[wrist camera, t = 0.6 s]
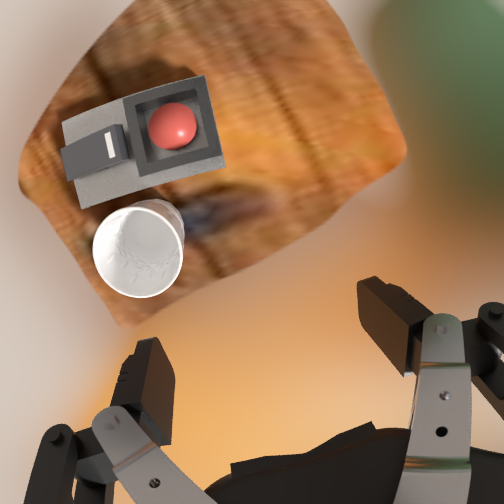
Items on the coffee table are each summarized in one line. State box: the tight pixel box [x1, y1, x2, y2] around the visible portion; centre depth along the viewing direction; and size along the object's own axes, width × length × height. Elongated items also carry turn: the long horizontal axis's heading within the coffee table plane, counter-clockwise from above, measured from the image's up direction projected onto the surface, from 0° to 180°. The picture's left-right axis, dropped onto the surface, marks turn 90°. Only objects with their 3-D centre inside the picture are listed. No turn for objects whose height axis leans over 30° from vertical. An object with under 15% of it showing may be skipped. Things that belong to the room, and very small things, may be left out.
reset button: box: [148, 103, 197, 150], centre depth 25 cm, size 4×4×1 cm
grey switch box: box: [62, 75, 226, 209], centre depth 27 cm, size 10×16×7 cm, turn 102°
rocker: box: [60, 124, 130, 182], centre depth 25 cm, size 4×7×2 cm, turn 102°
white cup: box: [93, 198, 184, 298], centre depth 29 cm, size 8×8×10 cm
